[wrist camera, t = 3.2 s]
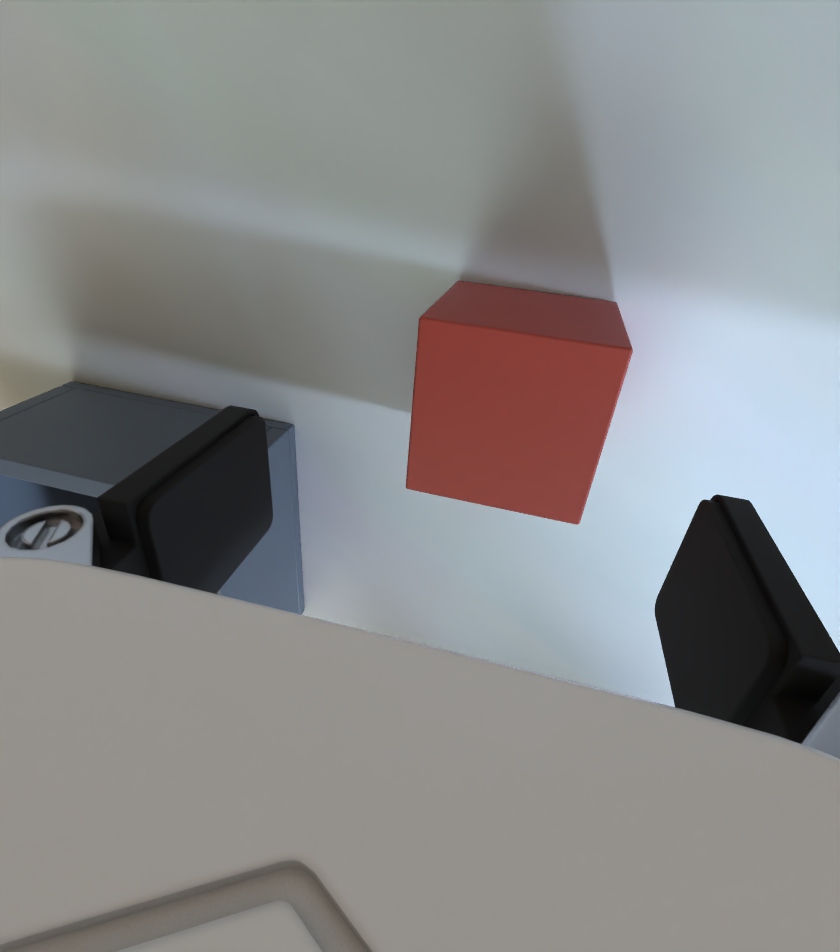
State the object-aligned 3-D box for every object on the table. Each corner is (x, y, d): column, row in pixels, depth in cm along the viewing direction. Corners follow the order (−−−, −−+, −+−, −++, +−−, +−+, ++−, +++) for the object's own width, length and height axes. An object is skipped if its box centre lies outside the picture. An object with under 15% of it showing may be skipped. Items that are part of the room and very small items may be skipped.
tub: (294, 424, 22) (205, 505, 17) (304, 610, 29) (241, 714, 23) (71, 380, 24) (-74, 441, 19) (125, 563, 31) (28, 648, 25)
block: (617, 301, 17) (633, 348, 12) (577, 445, 20) (579, 526, 15) (457, 280, 18) (418, 316, 13) (441, 420, 21) (405, 489, 16)
